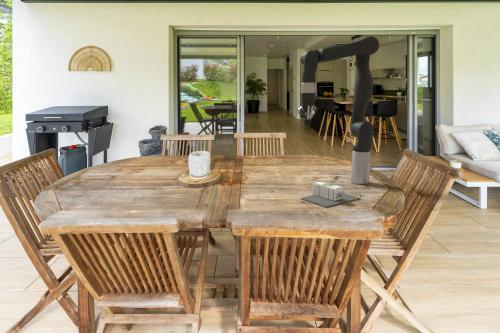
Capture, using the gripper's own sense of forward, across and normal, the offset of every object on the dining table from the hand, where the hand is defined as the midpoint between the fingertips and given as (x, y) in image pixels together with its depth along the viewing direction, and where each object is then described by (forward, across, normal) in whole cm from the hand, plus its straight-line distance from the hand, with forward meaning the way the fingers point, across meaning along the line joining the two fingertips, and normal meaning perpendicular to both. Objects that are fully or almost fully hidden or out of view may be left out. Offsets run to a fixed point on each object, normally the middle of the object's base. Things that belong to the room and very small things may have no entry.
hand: (307, 126), depth 194 cm
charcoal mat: (+31, +8, +25) cm, 41 cm away
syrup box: (+27, +8, +16) cm, 33 cm away
